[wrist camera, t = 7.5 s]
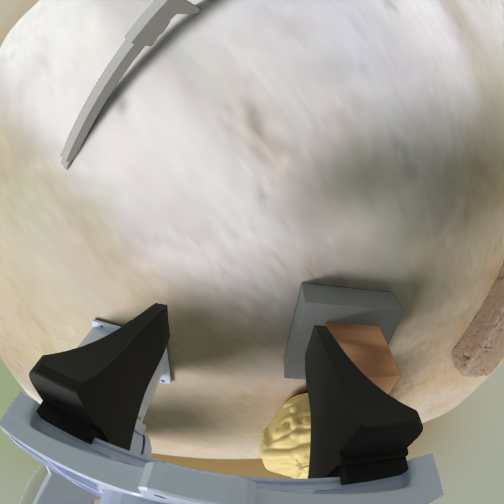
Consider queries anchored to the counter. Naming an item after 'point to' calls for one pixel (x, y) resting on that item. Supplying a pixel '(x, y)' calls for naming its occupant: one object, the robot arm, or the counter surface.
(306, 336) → the base
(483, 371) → the brick
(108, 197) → the counter surface
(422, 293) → the counter surface
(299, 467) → the sculpture
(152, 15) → the caliper
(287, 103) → the counter surface
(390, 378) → the block
